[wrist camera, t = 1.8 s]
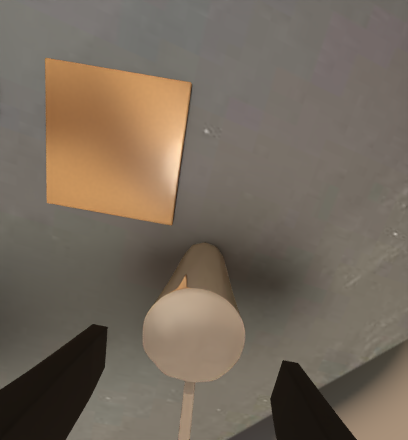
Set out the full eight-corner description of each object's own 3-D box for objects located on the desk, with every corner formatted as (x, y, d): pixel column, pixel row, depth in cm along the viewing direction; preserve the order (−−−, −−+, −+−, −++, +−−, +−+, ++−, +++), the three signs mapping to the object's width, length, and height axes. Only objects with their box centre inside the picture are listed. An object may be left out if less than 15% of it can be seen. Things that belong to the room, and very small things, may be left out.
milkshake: (174, 291, 18) (125, 435, 8) (177, 231, 17) (123, 317, 7) (227, 296, 18) (241, 450, 8) (234, 237, 16) (261, 332, 7)
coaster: (172, 224, 16) (171, 225, 16) (50, 202, 17) (46, 202, 16) (192, 84, 14) (191, 82, 14) (49, 60, 14) (44, 57, 14)
